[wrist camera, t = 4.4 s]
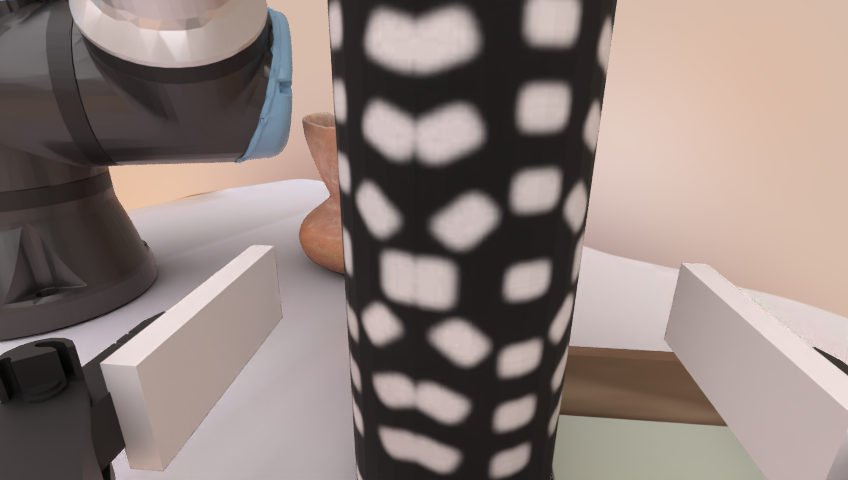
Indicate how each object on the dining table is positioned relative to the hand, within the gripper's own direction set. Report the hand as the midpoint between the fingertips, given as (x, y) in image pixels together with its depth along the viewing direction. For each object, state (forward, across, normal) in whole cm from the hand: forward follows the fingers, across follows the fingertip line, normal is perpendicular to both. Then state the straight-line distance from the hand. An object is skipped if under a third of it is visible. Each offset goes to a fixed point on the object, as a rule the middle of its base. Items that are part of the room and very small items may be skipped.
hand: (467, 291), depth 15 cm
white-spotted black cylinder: (+2, 0, -11) cm, 11 cm away
